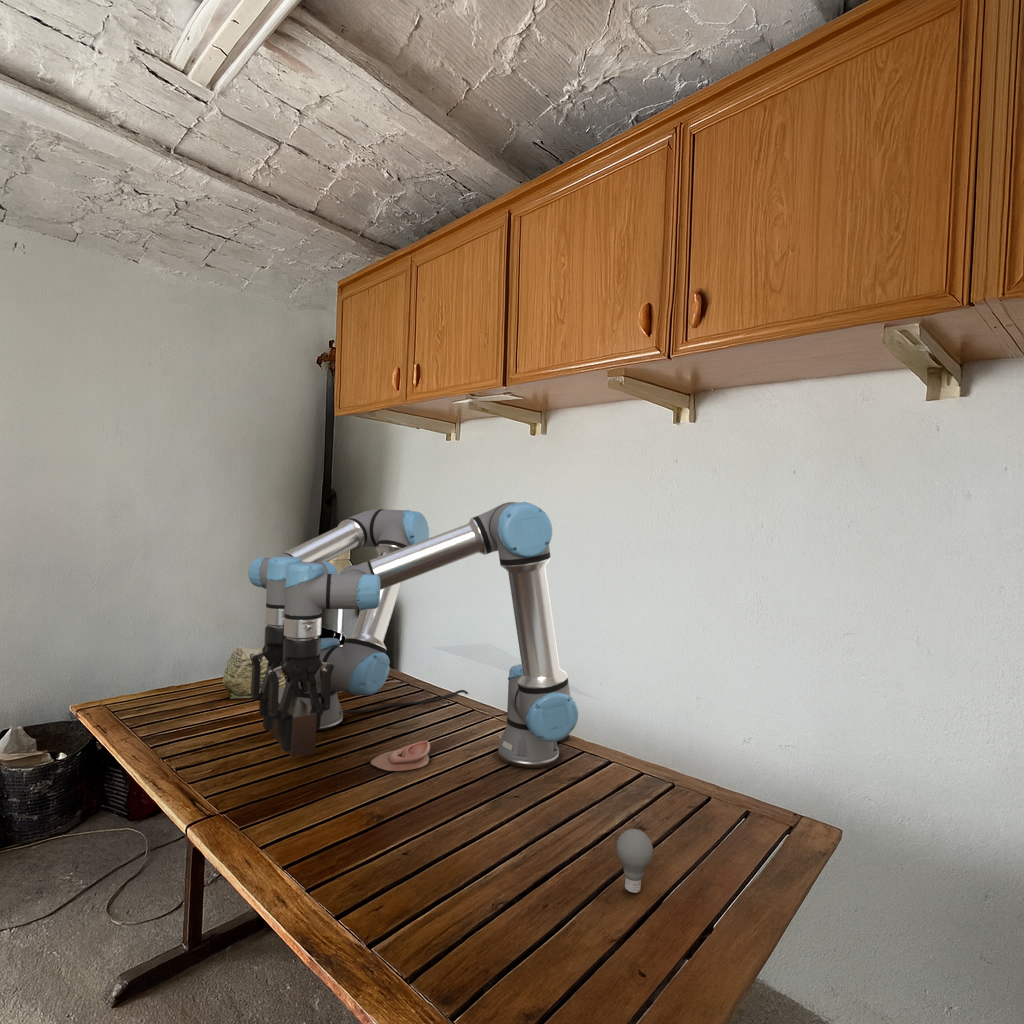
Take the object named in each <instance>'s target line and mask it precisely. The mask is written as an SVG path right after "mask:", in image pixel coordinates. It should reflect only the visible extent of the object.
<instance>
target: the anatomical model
mask: <svg viewBox="0 0 1024 1024" xmlns="http://www.w3.org/2000/svg"><path fill="white" fill-rule="evenodd" d="M430 751H431V743H430V742H429V741H428V740H423V741H417V742H415V743H412V744H408V745H405V746H403V747H399V748H398V749H394V750H391V751H387V752H384V753H381V754H380V755H377V756H376V757H374V758H373V759H371V761H370V764H371V765H372V766H373V767H375V768H378V769H380V770H383V771H387V772H400V771H401V772H402V771H411V770H415V769H421V768H423V767H425V766H427V765H428V764H429V761H430V757H429V755H428V754H429V753H430Z"/></svg>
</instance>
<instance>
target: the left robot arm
mask: <svg viewBox="0 0 1024 1024" xmlns="http://www.w3.org/2000/svg"><path fill="white" fill-rule="evenodd" d="M429 528H430V527H429V524H428V521H427V519H426V517H425V516H424V514H423V513H422V512H420V511H416V510H410V509H405V510H403V509H387V508H386V509H383V508H373V509H369V510H366V511H363V512H360V513H357V514H355V515H352V516H349V517H348V518H346V519H344V520H342V521H340V522H339V524H337V527H335V528H332V529H331V530H329V531H326V532H324V533H322V534H319V535H318V536H316V537H314V538H312V539H309V540H307V541H305V542H303V543H301V544H299V545H297V546H295V547H293V548H291V549H289V550H286V551H284V552H282V553H280V554H278V555H276V556H273V557H257V558H255V559H254V560H253V561H252V562H251V564H250V565H249V567H248V570H247V571H248V572H247V575H248V580H249V582H250V583H251V584H252V585H253V586H254V587H258V588H263V589H264V590H266V592H265V593H266V594H265V615H264V616H265V617H264V623H265V625H266V626H265V627H264V642H263V643H264V644H263V647H262V648H261V649H262V651H261V652H259V653H257V654H251V655H250V659H251V662H252V680H251V696H252V698H253V700H255V701H257V700H258V701H259V703H258V704H259V705H258V713H259V714H260V715H261V716H262V727H263V728H264V729H265V730H266V731H268V730H270V715H269V714H268V707H269V699H268V695H269V685H270V679H269V677H268V674H267V671H268V669H275V668H277V667H279V666H280V664H281V662H282V660H283V640H284V639H285V638H286V637H285V636H284V616H285V585H286V574H287V568H288V567H289V566H290V565H292V564H297V563H313V564H321V565H322V566H323V568H324V573H328V574H339V572H338V569H337V568H336V566H335V565H334V564H333V563H331V562H330V561H332V560H334V559H336V558H337V557H340V556H342V555H343V554H345V553H347V552H349V551H354V552H355V551H358V550H360V549H362V548H375V550H376V552H377V553H378V557H380V556H383V555H385V554H388V553H391V552H393V551H396V550H399V549H402V548H404V547H407V546H410V545H412V544H415V543H418V542H420V541H423V540H426V539H428V538H430V529H429ZM402 583H403V582H400V583H398V584H395V585H392V586H390V587H387V588H384V589H382V590H380V603H379V606H378V607H377V608H376V609H365V610H361V609H360V611H359V614H358V616H357V620H356V623H355V625H354V626H355V627H354V629H353V632H352V633H351V634H350V635H348V636H346V637H345V639H344V642H343V645H342V646H341V645H340V644H341V643H340V640H339V638H336V637H322V638H321V637H320V639H321V651H320V658H321V660H322V662H329V663H331V664H333V665H334V669H333V671H332V674H331V692H330V709H329V710H325V711H323V714H322V715H321V723H320V728H319V729H316V733H317V732H325V731H329V730H332V729H335V728H337V727H339V726H340V725H342V723H343V722H344V714H356V713H358V714H359V713H369V712H370V713H371V712H375V711H379V710H383V709H386V708H392V707H402V706H413V705H420V704H426V703H433V702H437V701H441V700H443V699H446V698H449V697H453V696H456V695H458V694H460V693H464V695H469V692H468V691H467V690H465V689H459V690H457V691H454V692H451V693H447V694H444V695H441V696H438V697H434V698H429V699H425V700H417V701H408V702H394V703H389V704H388V703H387V704H384V705H380V706H376V707H372V708H366V709H348V710H343V709H342V706H341V702H340V699H339V695H338V692H343V693H348V694H352V695H353V696H354V695H355V696H372V695H375V694H376V693H377V692H379V691H380V690H381V689H382V688H383V687H384V685H385V683H386V681H387V679H388V677H389V674H390V670H391V666H390V664H391V662H390V658H389V656H388V655H387V650H388V649H387V647H386V645H385V643H384V641H385V638H386V634H387V631H388V628H389V625H390V621H391V619H392V615H393V612H394V608H395V606H396V603H397V599H398V596H399V593H400V589H401V586H402ZM263 657H265V658H266V659H267V660H268V664H267V670H266V674H265V677H264V681H263V684H262V687H261V691H260V670H261V666H260V663H261V662H262V658H263ZM321 677H322V671H321V667H320V668H319V670H318V671H317V673H316V674H315V680H316V687H317V692H318V696H319V701H320V704H321ZM259 692H260V693H259ZM293 693H295V694H296V695H297V696H298V697H299V698H300V699H301V700H302V701H304V702H305V703H306V704H307V705H308V706H309V707H310V708H311V709H312V705H311V701H310V696H309V692H308V688H307V683H306V681H301V682H299V683H297V685H296V688H295V689H294V692H293Z"/></svg>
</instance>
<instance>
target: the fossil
mask: <svg viewBox="0 0 1024 1024" xmlns="http://www.w3.org/2000/svg"><path fill="white" fill-rule="evenodd" d="M262 649H263V648H260V647H258V648H251V647H247V646H246V647H245V646H238V647H237V648H236V649H235V650H233V651H232V653H231V656H230V657H229V659H228V660H227V663H226V666H225V668H224V671H223V675H222V676H223V677H222V685H223V687H224V688H225V690H226V691H228V693H229V698H230V699H250V698H253V697H252V696H251V680H252V662H251V659H250V655H251V654H257V653H259V652H261V651H262ZM267 664H268V660H267V659H266V658H265V657H263V658H262V662H261V663H260V666H261V670H260V691H261V687H262V684H263V681H264V677H265V674H266V670H267ZM278 680H279V687H285V682H286V678H285V676H284V674H283V672H281V677H280V678H279V679H278ZM259 693H260V692H259Z"/></svg>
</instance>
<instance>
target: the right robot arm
mask: <svg viewBox="0 0 1024 1024" xmlns="http://www.w3.org/2000/svg"><path fill="white" fill-rule="evenodd" d="M552 538H553V525H552V521H551V519H550V518H549V515H548V514H547V512H546V511H544V510H543V509H542V508H541V507H539V506H537V505H536V504H533V503H532V502H531V503H530V502H526V501H519V502H516V501H511V502H510V501H508V502H504V503H502V504H500V505H497V506H495V507H493V508H491V509H489V510H488V511H487V510H486V511H485V512H482V513H481V514H479V515H476V516H473V517H471V518H470V519H469V521H468V523H466V524H464V525H461V526H458V527H456V528H453V529H450V530H448V531H445V532H442V533H439V534H437V535H434V536H431V537H429V538H428V539H426V540H423V541H420V542H418V543H415V544H412V545H410V546H407V547H404V548H402V549H399V550H396V551H393V552H391V553H388V554H385V555H383V556H380V557H379V556H377V557H375V558H372V559H370V560H368V561H364V562H362V563H359V564H355V565H354V564H353V565H349V566H346V567H344V568H343V569H342V570H341V571H340V572H339V573H338V574H328V573H324V568H323V566H322V565H321V564H313V563H297V564H292V565H290V566H289V567H288V568H287V574H286V585H285V616H284V636H285V637H286V638H285V639H284V640H283V660H282V662H281V664H280V666H279V667H277V668H275V669H268V671H267V674H268V677H269V679H270V685H269V707H268V714H269V715H270V717H271V718H272V719H277V732H278V734H279V735H280V736H281V735H282V738H281V745H280V748H281V750H282V751H283V752H285V753H287V751H289V727H290V720H289V719H288V718H287V713H288V710H289V706H290V703H291V699H292V696H293V692H294V689H295V688H296V685H297V683H299V682H301V681H306V683H307V688H308V692H309V696H310V701H311V705H312V709H313V710H314V711H315V712H316V713H317V720H316V729H319V728H320V723H321V715H322V714H323V711H325V710H329V709H330V692H331V674H332V671H333V669H334V665H333V664H331V663H329V662H322V660H321V658H320V651H321V637H320V636H321V635H322V620H323V619H322V617H323V615H322V614H323V610H360V611H361V610H365V609H376V608H377V607H378V606H379V603H380V590H382V589H384V588H387V587H390V586H392V585H395V584H398V583H400V582H402V583H403V582H406V581H408V580H411V579H413V578H416V577H418V576H421V575H424V574H427V573H429V572H432V571H435V570H438V569H440V568H443V567H445V566H448V565H450V564H453V563H456V562H458V561H461V560H464V559H467V558H469V557H472V556H475V555H477V554H481V555H482V556H486V555H488V554H492V553H494V552H498V557H499V565H500V567H501V568H502V569H504V570H505V571H506V572H507V574H508V580H509V589H510V595H511V601H512V608H513V615H514V622H515V628H516V635H517V642H518V649H519V656H520V663H521V664H515V665H512V666H510V668H509V670H508V671H509V672H508V677H507V680H508V685H507V688H508V689H507V711H506V725H505V728H504V731H503V734H502V735H501V736H502V737H501V739H500V742H499V745H498V749H497V755H498V758H499V759H500V761H502V762H504V763H505V764H507V765H510V766H511V767H517V768H520V769H521V768H522V769H543V768H547V767H551V766H553V765H555V764H556V763H557V762H558V761H559V758H560V749H559V746H558V743H562V742H564V741H566V740H569V739H570V738H571V736H570V734H571V732H573V730H574V729H575V728H576V726H577V723H578V720H579V709H578V705H577V703H576V701H575V699H574V698H573V697H572V695H571V691H570V690H571V689H570V684H569V676H568V673H567V672H566V671H564V670H563V669H562V668H561V667H560V660H559V654H558V653H559V652H558V646H557V639H556V633H555V624H554V618H553V617H554V616H553V611H552V605H551V596H550V590H549V589H550V588H549V583H548V576H547V569H546V566H547V565H548V564H549V562H550V560H551V558H552V557H551V549H550V543H551V541H552ZM320 667H321V671H322V677H321V704H320V701H319V696H318V692H317V687H316V680H315V674H316V673H317V671H318V670H319V668H320ZM281 673H283V675H285V676H286V678H285V680H286V682H285V688H284V692H283V695H282V699H281V702H280V706H279V709H278V695H279V680H278V679H279V678H280V677H281Z"/></svg>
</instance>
